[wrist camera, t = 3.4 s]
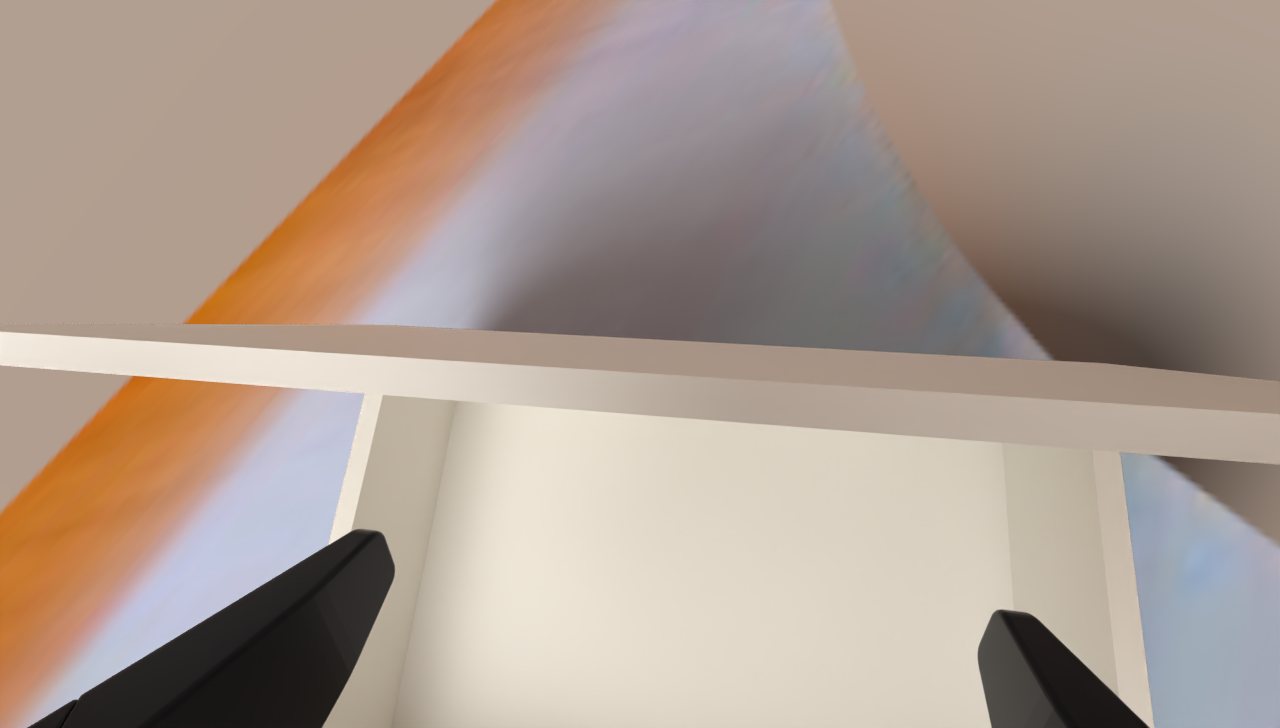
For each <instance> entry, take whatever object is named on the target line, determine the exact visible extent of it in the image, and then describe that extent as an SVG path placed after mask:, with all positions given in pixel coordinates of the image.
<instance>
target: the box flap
mask: <svg viewBox="0 0 1280 728" xmlns="http://www.w3.org/2000/svg"><path fill="white" fill-rule="evenodd" d="M0 365H4V366H17V367H30V368H43V369H56V370H69V371H82V372H94V373H108V374H120V375H133V376H146V377H159V378H172V379H185V380H197V381H210V382H223V383H236V384H249V385H262V386H275V387H288V388H300V389H313V390H326V391H339V392H352V393H365V394H378V395H391V396H403V397H416V398H429V399H442V400H455V401H468V402H481V403H494V404H506V405H519V406H532V407H545V408H558V409H571V410H584V411H597V412H609V413H622V414H635V415H648V416H661V417H674V418H687V419H700V420H712V421H725V422H738V423H751V424H764V425H777V426H790V427H803V428H815V429H828V430H841V431H854V432H867V433H880V434H893V435H906V436H918V437H931V438H944V439H957V440H970V441H983V442H996V443H1009V444H1022V445H1034V446H1047V447H1060V448H1073V449H1086V450H1099V451H1112V452H1125V453H1137V454H1150V455H1163V456H1176V457H1177V456H1178V457H1190V458H1202V459H1215V460H1228V461H1240V462H1241V461H1242V462H1253V463H1267V464H1279V465H1280V382H1279V381H1270V380H1260V379H1251V378H1241V377H1231V376H1221V375H1212V374H1202V373H1191V372H1182V371H1173V370H1163V369H1153V368H1143V367H1133V366H1124V365H1114V364H1098V363H1080V362H1061V361H1043V360H1024V359H1005V358H987V357H968V356H949V355H931V354H912V353H894V352H875V351H856V350H838V349H819V348H801V347H782V346H763V345H745V344H726V343H707V342H689V341H670V340H652V339H633V338H614V337H596V336H577V335H559V334H540V333H521V332H503V331H484V330H465V329H447V328H428V327H410V326H391V325H268V324H0Z"/></svg>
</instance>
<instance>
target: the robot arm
mask: <svg viewBox="0 0 1280 728" xmlns="http://www.w3.org/2000/svg"><path fill="white" fill-rule="evenodd" d="M394 576H395V564H394V561H393V558H392V555H391V553H390V550H389V547H388V544H387V541H386V538H385V536H384V535H383V533H381V532H380V531H376V530H368V529H355V530H353V531H351V532H349V533H347V534H346V535H344V536H342V537H341V538H339V539H338V540H336V541H334V542H333V543H331V544H329V545H328V546H326V547H324V548H323V549H321V550H319V551H318V552H316V553H315V554H313V555H311V556H310V557H308V558H306V559H305V560H303V561H301V562H300V563H298V564H296V565H295V566H293V567H291V568H290V569H288V570H287V571H285V572H283V573H282V574H280V575H278V576H277V577H275V578H273V579H272V580H270V581H268V582H267V583H265V584H264V585H262V586H260V587H259V588H257V589H255V590H254V591H252V592H250V593H249V594H247V595H245V596H244V597H242V598H240V599H239V600H237V601H236V602H234V603H232V604H231V605H229V606H227V607H226V608H224V609H222V610H221V611H219V612H217V613H216V614H214V615H213V616H211V617H209V618H208V619H206V620H204V621H203V622H201V623H199V624H198V625H196V626H194V627H193V628H191V629H190V630H188V631H186V632H185V633H183V634H181V635H180V636H178V637H176V638H175V639H173V640H171V641H170V642H168V643H166V644H165V645H163V646H162V647H160V648H158V649H157V650H155V651H153V652H152V653H150V654H148V655H147V656H145V657H143V658H142V659H140V660H138V661H137V662H135V663H134V664H132V665H130V666H129V667H127V668H125V669H124V670H122V671H120V672H119V673H117V674H115V675H114V676H112V677H110V678H109V679H107V680H106V681H104V682H102V683H101V684H99V685H97V686H96V687H94V688H92V689H91V690H89V691H87V692H86V693H84V694H83V695H81V697H80V698H79V699H78V700H72V701H71V702H69V703H67V704H66V705H64V706H63V707H61V708H59V709H58V710H56V711H54V712H53V713H51V714H49V715H48V716H46V717H44V718H43V719H41V720H40V721H38V722H36V723H35V724H33V725H31V726H29V727H28V728H322V727H323V725H324V724H325V722H326V720H327V718H328V716H329V715H330V713H331V711H332V709H333V707H334V706H335V704H336V702H337V700H338V698H339V697H340V695H341V693H342V691H343V689H344V687H345V685H346V684H347V682H348V680H349V678H350V676H351V674H352V672H353V670H354V668H355V666H356V664H357V661H358V659H359V657H360V655H361V653H362V650H363V648H364V646H365V644H366V641H367V639H368V637H369V635H370V632H371V630H372V628H373V625H374V623H375V621H376V619H377V616H378V614H379V612H380V610H381V607H382V605H383V603H384V601H385V598H386V596H387V594H388V592H389V589H390V587H391V585H392V582H393V580H394ZM977 657H978V666H979V671H980V675H981V680H982V685H983V690H984V694H985V699H986V704H987V708H988V713H989V718H990V723H991V727H992V728H1150V727H1149V726H1148V725H1147V724H1146V723H1145V722H1144V721H1142V720H1141V719H1140V718H1139V717H1138V716H1137V715H1136V714H1135V713H1134V712H1133V711H1132V710H1131V709H1130V708H1129V707H1128V706H1127V705H1126V704H1125V703H1124V702H1123V701H1122V700H1121V699H1120V698H1119V697H1118V696H1117V695H1116V694H1115V693H1114V692H1113V691H1112V690H1111V689H1110V688H1109V687H1107V686H1106V685H1105V684H1104V683H1103V682H1102V681H1101V680H1100V679H1099V678H1098V677H1097V676H1096V675H1095V674H1094V673H1093V672H1092V671H1091V670H1090V669H1089V668H1088V667H1087V666H1086V665H1085V664H1084V663H1083V662H1082V661H1081V660H1080V659H1079V658H1078V657H1077V656H1076V655H1075V654H1073V653H1072V652H1071V651H1070V650H1069V649H1068V648H1067V647H1066V646H1065V645H1064V644H1063V643H1062V642H1061V641H1060V640H1059V639H1058V638H1057V637H1056V636H1055V635H1054V634H1053V633H1052V632H1051V631H1050V630H1049V629H1048V628H1047V627H1046V626H1045V625H1044V624H1043V623H1042V622H1041V621H1040V620H1038V619H1037V618H1036V617H1035V616H1033V615H1032V614H1029V613H1026V612H1021V611H1013V610H1005V609H998V610H996V611H995V612H993V614H992V616H991V618H990V620H989V622H988V625H987V627H986V629H985V632H984V634H983V636H982V639H981V641H980V643H979V647H978V656H977Z"/></svg>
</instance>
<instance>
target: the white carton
mask: <svg viewBox="0 0 1280 728" xmlns="http://www.w3.org/2000/svg"><path fill="white" fill-rule="evenodd" d="M391 326H397V325H391ZM410 327H415V326H410ZM428 328H434V327H428ZM447 329H453V328H447ZM465 330H471V329H465ZM484 331H490V330H484ZM503 332H509V331H503ZM521 333H527V332H521ZM540 334H546V333H540ZM559 335H565V334H559ZM577 336H583V335H577ZM596 337H602V336H596ZM614 338H621V337H614ZM633 339H639V338H633ZM652 340H658V339H652ZM670 341H677V340H670ZM689 342H695V341H689ZM707 343H714V342H707ZM726 344H732V343H726ZM745 345H751V344H745ZM763 346H770V345H763ZM782 347H788V346H782ZM801 348H807V347H801ZM819 349H826V348H819ZM838 350H844V349H838ZM856 351H863V350H856ZM875 352H882V351H875ZM894 353H900V352H894ZM912 354H919V353H912ZM931 355H938V354H931ZM949 356H956V355H949ZM968 357H975V356H968ZM987 358H994V357H987ZM1005 359H1012V358H1005ZM1024 360H1031V359H1024ZM1043 361H1050V360H1043ZM1061 362H1068V361H1061ZM1080 363H1085V362H1080ZM1086 363H1087V362H1086ZM1098 364H1105V363H1098ZM355 529H368V530H376V531H380V532H381V533H383V535H384V536H385V538H386V541H387V544H388V547H389V550H390V553H391V555H392V558H393V561H394V564H395V576H394V580H393V582H392V585H391V587H390V589H389V592H388V594H387V596H386V598H385V601H384V603H383V605H382V607H381V610H380V612H379V614H378V616H377V619H376V621H375V623H374V625H373V628H372V630H371V632H370V635H369V637H368V639H367V641H366V644H365V646H364V648H363V650H362V653H361V655H360V657H359V659H358V661H357V664H356V666H355V668H354V670H353V672H352V674H351V676H350V678H349V680H348V682H347V684H346V685H345V687H344V689H343V691H342V693H341V695H340V697H339V698H338V700H337V702H336V704H335V706H334V707H333V709H332V711H331V713H330V715H329V716H328V718H327V720H326V722H325V724H324V725H323V727H322V728H992V727H991V723H990V718H989V713H988V708H987V704H986V699H985V694H984V690H983V685H982V680H981V675H980V671H979V666H978V657H977V656H978V647H979V643H980V641H981V639H982V636H983V634H984V632H985V629H986V627H987V625H988V622H989V620H990V618H991V616H992V614H993V612H995V611H996V610H998V609H1005V610H1013V611H1021V612H1026V613H1029V614H1032V615H1033V616H1035V617H1036V618H1037V619H1038V620H1040V621H1041V622H1042V623H1043V624H1044V625H1045V626H1046V627H1047V628H1048V629H1049V630H1050V631H1051V632H1052V633H1053V634H1054V635H1055V636H1056V637H1057V638H1058V639H1059V640H1060V641H1061V642H1062V643H1063V644H1064V645H1065V646H1066V647H1067V648H1068V649H1069V650H1070V651H1071V652H1072V653H1073V654H1075V655H1076V656H1077V657H1078V658H1079V659H1080V660H1081V661H1082V662H1083V663H1084V664H1085V665H1086V666H1087V667H1088V668H1089V669H1090V670H1091V671H1092V672H1093V673H1094V674H1095V675H1096V676H1097V677H1098V678H1099V679H1100V680H1101V681H1102V682H1103V683H1104V684H1105V685H1106V686H1107V687H1109V688H1110V689H1111V690H1112V691H1113V692H1114V693H1115V694H1116V695H1117V696H1118V697H1119V698H1120V699H1121V700H1122V701H1123V702H1124V703H1125V704H1126V705H1127V706H1128V707H1129V708H1130V709H1131V710H1132V711H1133V712H1134V713H1135V714H1136V715H1137V716H1138V717H1139V718H1140V719H1141V720H1142V721H1144V722H1145V723H1146V724H1147V725H1148V726H1149V727H1150V728H1154V722H1153V714H1152V706H1151V698H1150V690H1149V681H1148V673H1147V665H1146V657H1145V649H1144V641H1143V633H1142V625H1141V617H1140V609H1139V601H1138V593H1137V584H1136V576H1135V568H1134V560H1133V552H1132V544H1131V536H1130V528H1129V520H1128V512H1127V504H1126V496H1125V487H1124V479H1123V471H1122V463H1121V455H1120V452H1112V451H1099V450H1086V449H1073V448H1060V447H1047V446H1034V445H1022V444H1009V443H996V442H983V441H970V440H957V439H944V438H931V437H918V436H906V435H893V434H880V433H867V432H854V431H841V430H828V429H815V428H803V427H790V426H777V425H764V424H751V423H738V422H725V421H712V420H700V419H687V418H674V417H661V416H648V415H635V414H622V413H609V412H597V411H584V410H571V409H558V408H545V407H532V406H519V405H506V404H494V403H481V402H468V401H455V400H442V399H429V398H416V397H403V396H391V395H378V394H365V395H364V399H363V403H362V407H361V411H360V416H359V420H358V424H357V428H356V432H355V436H354V440H353V444H352V449H351V453H350V457H349V461H348V465H347V469H346V473H345V477H344V481H343V486H342V490H341V494H340V498H339V502H338V506H337V510H336V514H335V519H334V523H333V527H332V531H331V535H330V539H329V543H328V545H329V544H331V543H333V542H334V541H336V540H338V539H339V538H341V537H342V536H344V535H346V534H347V533H349V532H351V531H353V530H355Z"/></svg>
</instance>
